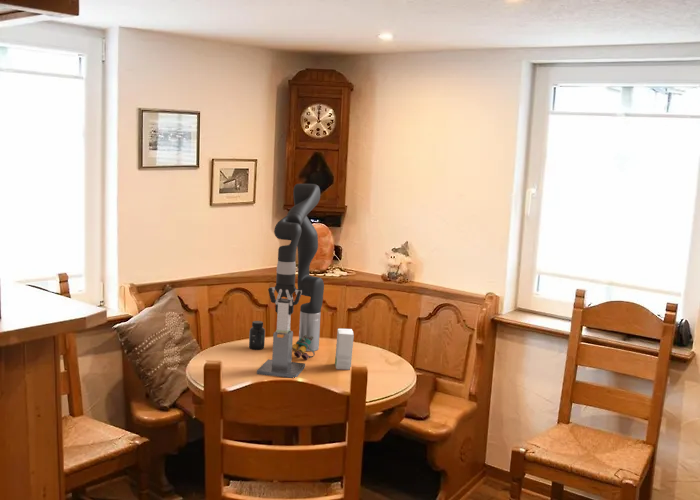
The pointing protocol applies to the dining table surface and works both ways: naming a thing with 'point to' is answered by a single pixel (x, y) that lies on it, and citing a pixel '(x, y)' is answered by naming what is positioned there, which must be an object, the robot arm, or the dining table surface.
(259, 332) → the supplement bottle
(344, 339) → the skincare box
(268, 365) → the stand
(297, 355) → the binoculars
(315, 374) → the dining table surface
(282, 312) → the column
